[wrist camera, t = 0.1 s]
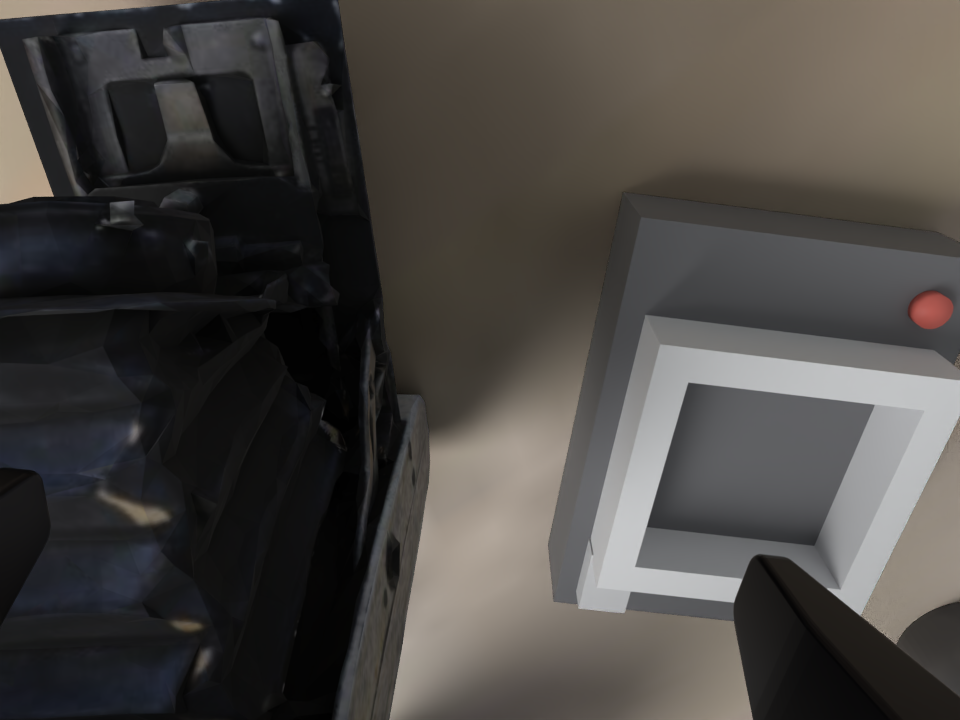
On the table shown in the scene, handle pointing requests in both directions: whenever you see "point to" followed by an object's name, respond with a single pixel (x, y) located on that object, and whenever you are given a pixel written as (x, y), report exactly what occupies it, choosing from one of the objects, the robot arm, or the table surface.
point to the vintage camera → (202, 375)
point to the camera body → (753, 405)
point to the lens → (936, 644)
